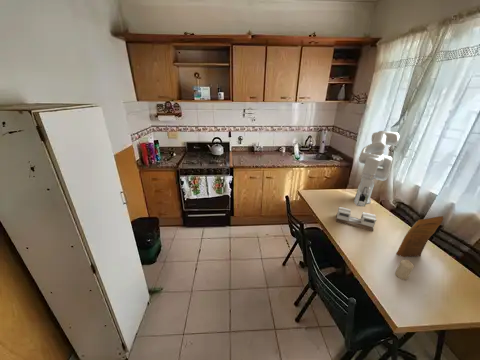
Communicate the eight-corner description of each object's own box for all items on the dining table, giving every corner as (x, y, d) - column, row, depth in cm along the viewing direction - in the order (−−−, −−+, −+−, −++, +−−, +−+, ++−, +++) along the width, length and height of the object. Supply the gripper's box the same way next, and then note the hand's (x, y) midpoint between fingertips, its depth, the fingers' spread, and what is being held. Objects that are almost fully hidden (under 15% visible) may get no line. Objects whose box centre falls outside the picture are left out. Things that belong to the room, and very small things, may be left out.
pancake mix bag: (429, 258, 124) (450, 218, 112) (399, 259, 122) (417, 220, 110) (419, 250, 130) (438, 212, 118) (391, 251, 128) (407, 212, 117)
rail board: (336, 215, 163) (339, 205, 160) (371, 223, 154) (375, 213, 151) (336, 221, 155) (338, 212, 152) (373, 231, 146) (376, 221, 142)
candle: (395, 269, 115) (402, 256, 111) (408, 275, 112) (415, 261, 108) (394, 276, 111) (401, 262, 107) (407, 282, 108) (414, 267, 104)
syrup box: (361, 202, 151) (367, 184, 145) (365, 206, 145) (371, 188, 139) (353, 202, 151) (358, 183, 145) (356, 206, 146) (362, 187, 140)
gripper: (361, 170, 148) (354, 192, 155) (362, 178, 133) (355, 202, 141) (373, 171, 145) (366, 194, 152) (376, 181, 130) (368, 205, 138)
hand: (361, 198), depth 146 cm, fingers closed on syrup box, 7 cm apart
